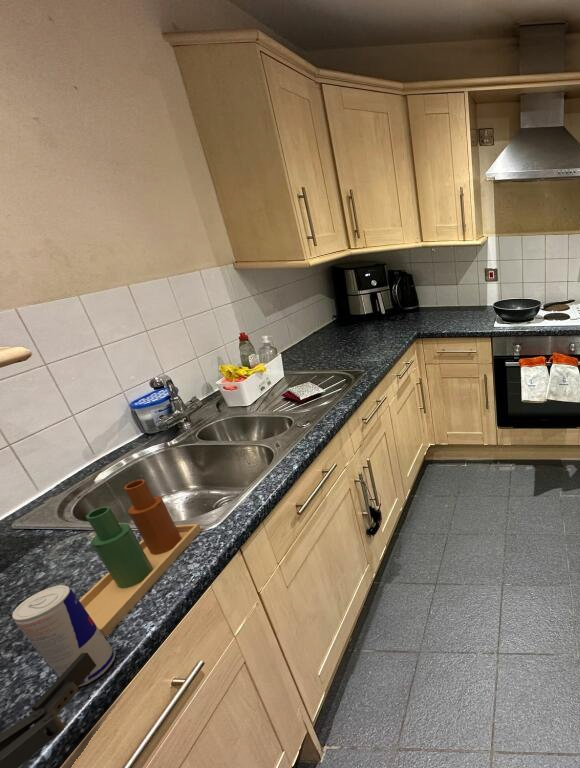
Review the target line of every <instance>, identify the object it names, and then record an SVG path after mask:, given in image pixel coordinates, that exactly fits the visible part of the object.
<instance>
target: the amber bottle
mask: <svg viewBox="0 0 580 768" xmlns="http://www.w3.org/2000/svg"><path fill="white" fill-rule="evenodd" d="M124 491H125V493H126V495H127V497H128V498H129V500H130V503H131V504H132V505H131V506H130V507H129V508H128V510H127V512H128V514H129V516H130V518H131V520H132V522H133V524H134V526H135V527H136V529H137V531H138V533H139V535H140V537H141V539H142V540H144V542H145V544H146V546H147V547H148V549H149V551H150V553H151V554H153V555H157V554H162V553H165V552H168V551H170V550H172V549H173V548H174V547H175V546H176V545H177V544H178V543H179V542H180V541H181V539H182V538H181V536H180V534H179V532H178V530H177V528H176V524H175V522H174V520H173V518H172V516H171V513H170V512H169V509H168V508H167V506H166V503H165V502H164V500H163V498H162V496H159V495H155V496H153V493H152V492H151V490H150V488H149V485H148V484H147V482H146V480H145V479H135V480H133V481H131V482H128V483H127V484H126V485H124Z"/></svg>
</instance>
